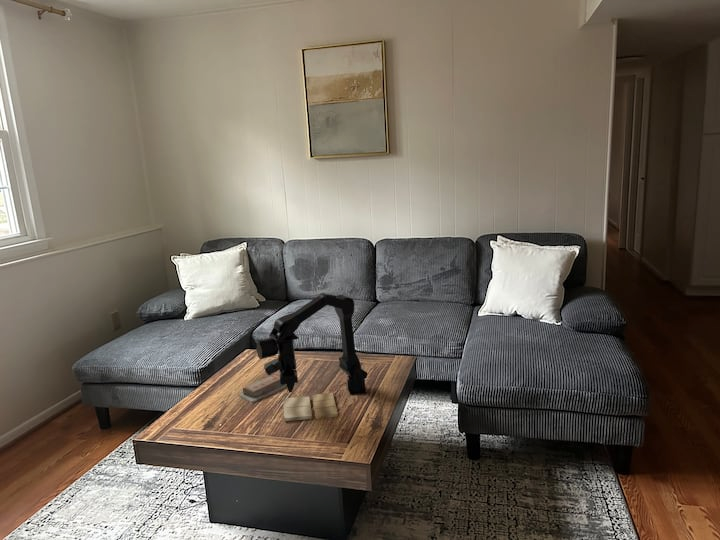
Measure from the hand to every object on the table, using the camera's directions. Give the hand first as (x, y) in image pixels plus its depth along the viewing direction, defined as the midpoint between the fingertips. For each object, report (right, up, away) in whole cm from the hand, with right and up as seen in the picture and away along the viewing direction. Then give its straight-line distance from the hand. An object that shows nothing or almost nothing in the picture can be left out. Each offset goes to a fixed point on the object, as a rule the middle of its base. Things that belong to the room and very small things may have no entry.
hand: (290, 391), depth 196 cm
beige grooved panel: (+2, -7, +2) cm, 8 cm away
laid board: (+12, -6, +3) cm, 14 cm away
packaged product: (-14, -5, +20) cm, 25 cm away
